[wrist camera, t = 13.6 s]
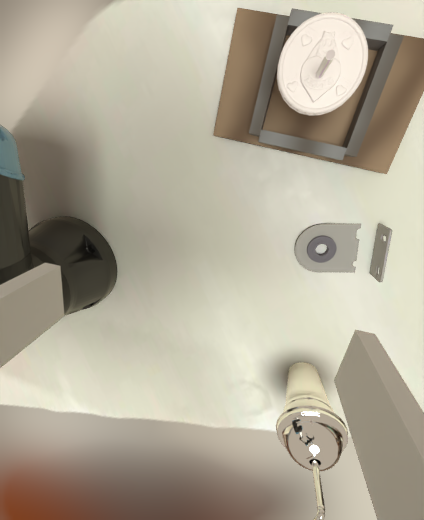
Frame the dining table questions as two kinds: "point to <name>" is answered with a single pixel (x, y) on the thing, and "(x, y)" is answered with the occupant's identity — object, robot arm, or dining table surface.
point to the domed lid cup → (311, 426)
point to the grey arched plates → (340, 248)
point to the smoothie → (322, 63)
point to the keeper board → (329, 124)
